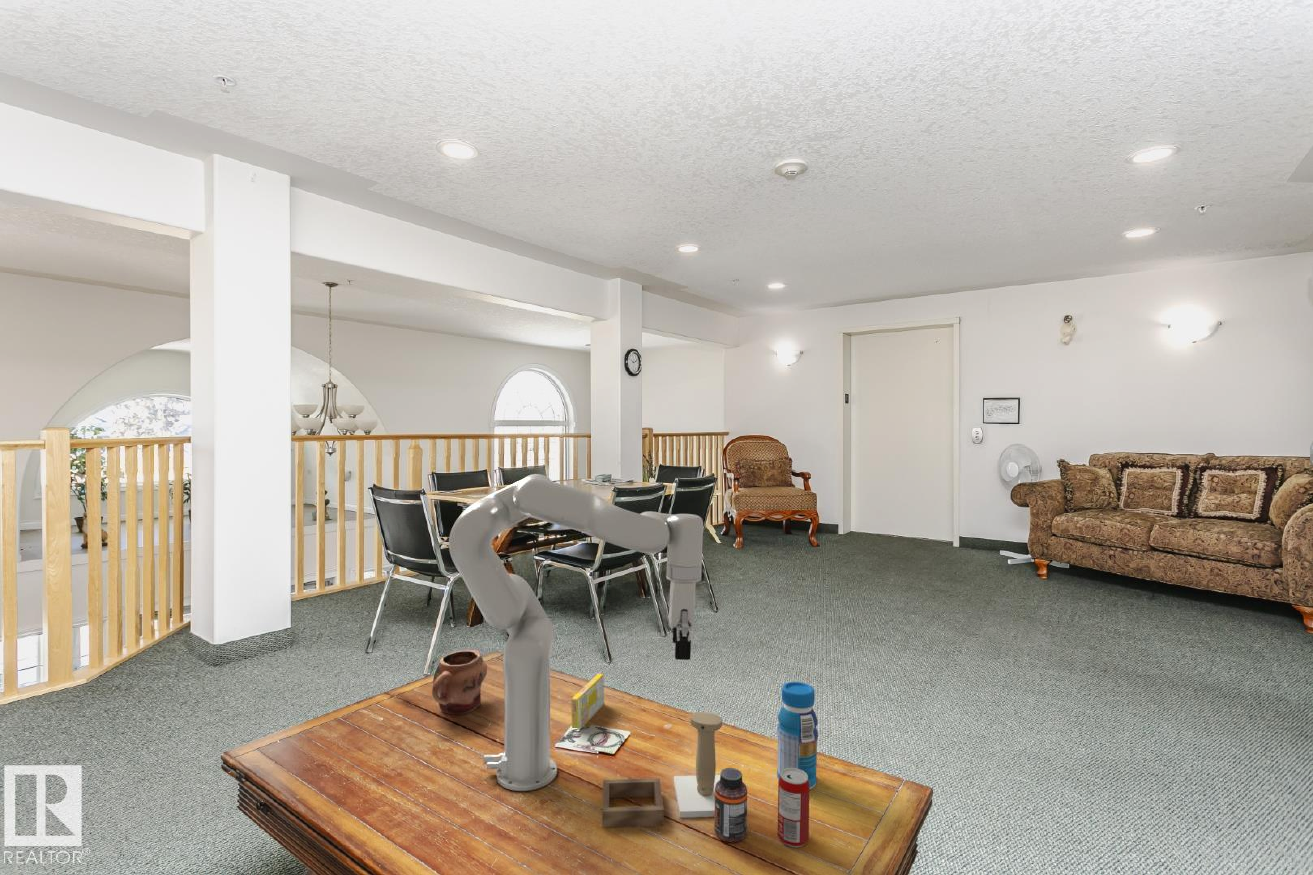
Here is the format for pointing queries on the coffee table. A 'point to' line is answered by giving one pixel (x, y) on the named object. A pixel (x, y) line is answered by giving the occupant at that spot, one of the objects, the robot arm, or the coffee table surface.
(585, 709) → the candy box
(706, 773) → the handle
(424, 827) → the coffee table surface
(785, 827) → the soda can
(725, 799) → the supplement bottle
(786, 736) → the beverage bottle
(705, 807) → the plate
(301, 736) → the coffee table surface
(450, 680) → the brown clay mug
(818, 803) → the coffee table surface
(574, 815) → the coffee table surface
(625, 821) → the socket frame
